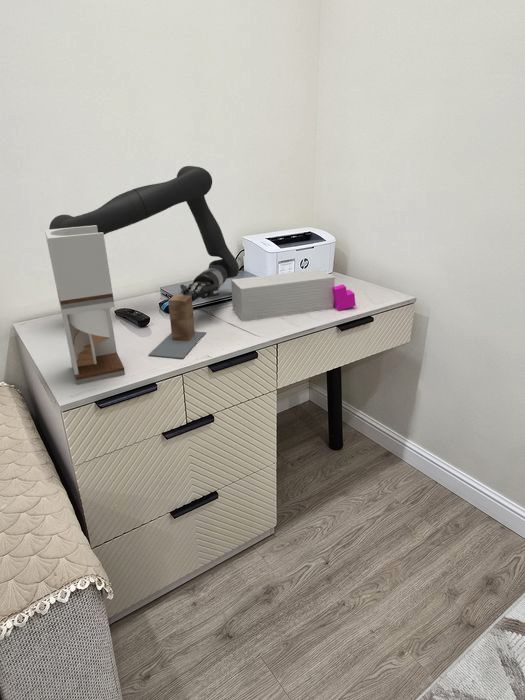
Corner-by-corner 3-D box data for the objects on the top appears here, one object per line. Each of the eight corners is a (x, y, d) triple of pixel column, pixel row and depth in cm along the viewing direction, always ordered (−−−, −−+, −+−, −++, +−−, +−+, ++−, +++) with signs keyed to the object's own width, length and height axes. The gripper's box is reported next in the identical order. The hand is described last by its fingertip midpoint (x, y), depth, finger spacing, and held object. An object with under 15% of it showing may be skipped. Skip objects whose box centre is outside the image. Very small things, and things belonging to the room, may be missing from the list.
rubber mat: (148, 356, 131) (148, 354, 131) (174, 330, 147) (174, 329, 146) (183, 359, 129) (183, 357, 128) (206, 333, 144) (205, 332, 144)
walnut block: (172, 339, 139) (168, 300, 134) (179, 333, 144) (175, 294, 139) (188, 341, 138) (185, 301, 133) (194, 334, 143) (191, 295, 138)
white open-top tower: (77, 384, 117) (47, 238, 102) (72, 366, 126) (44, 229, 111) (125, 374, 121) (103, 232, 107) (117, 358, 130) (96, 225, 115)
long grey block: (319, 298, 172) (320, 269, 167) (333, 308, 162) (334, 277, 158) (232, 310, 162) (231, 279, 157) (242, 321, 153) (241, 288, 148)
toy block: (355, 305, 161) (353, 284, 157) (338, 310, 160) (335, 289, 157) (338, 291, 174) (336, 272, 171) (322, 296, 173) (319, 276, 170)
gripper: (188, 270, 158) (166, 285, 142) (227, 271, 155) (209, 288, 139) (190, 292, 161) (169, 309, 145) (228, 294, 158) (211, 312, 143)
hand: (189, 299), depth 142 cm, fingers closed
